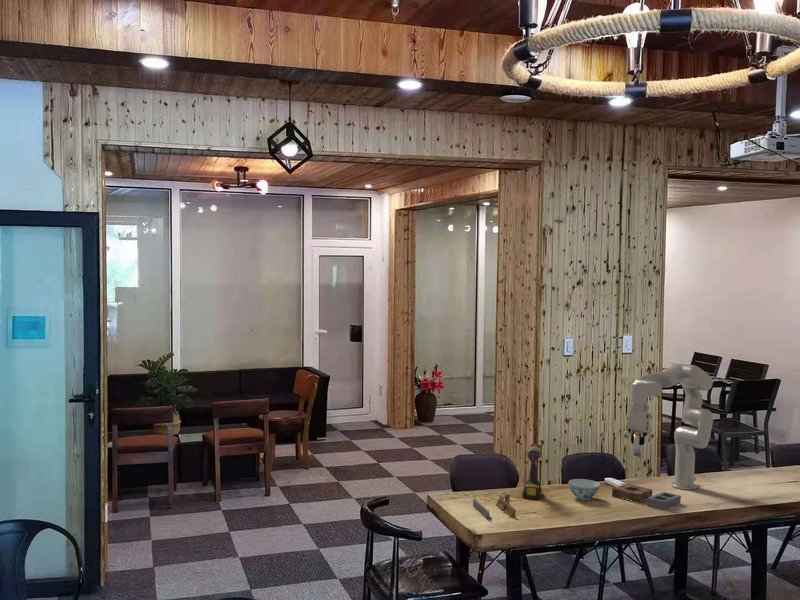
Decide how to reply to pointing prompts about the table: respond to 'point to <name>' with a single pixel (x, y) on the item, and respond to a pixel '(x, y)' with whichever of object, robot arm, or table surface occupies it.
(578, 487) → the chinaware
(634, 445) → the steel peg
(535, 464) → the power drill
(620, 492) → the socket block
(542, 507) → the table surface
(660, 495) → the gray cinder block
